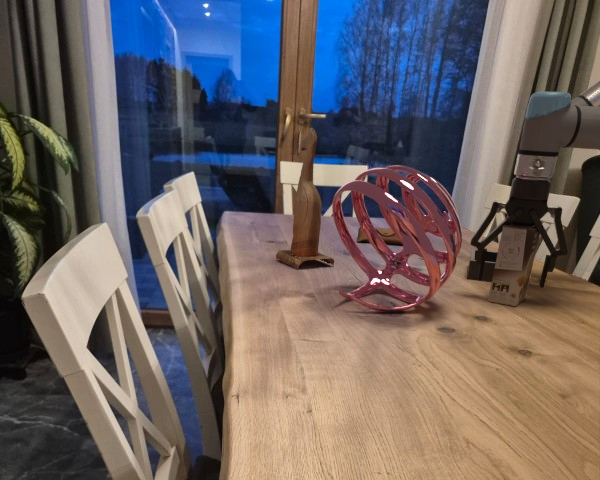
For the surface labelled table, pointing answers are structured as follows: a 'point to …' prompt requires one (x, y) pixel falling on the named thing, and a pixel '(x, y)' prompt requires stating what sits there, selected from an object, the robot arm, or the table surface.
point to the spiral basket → (401, 234)
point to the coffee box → (513, 264)
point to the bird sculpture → (306, 213)
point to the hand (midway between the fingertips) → (510, 283)
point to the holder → (488, 266)
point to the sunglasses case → (384, 233)
